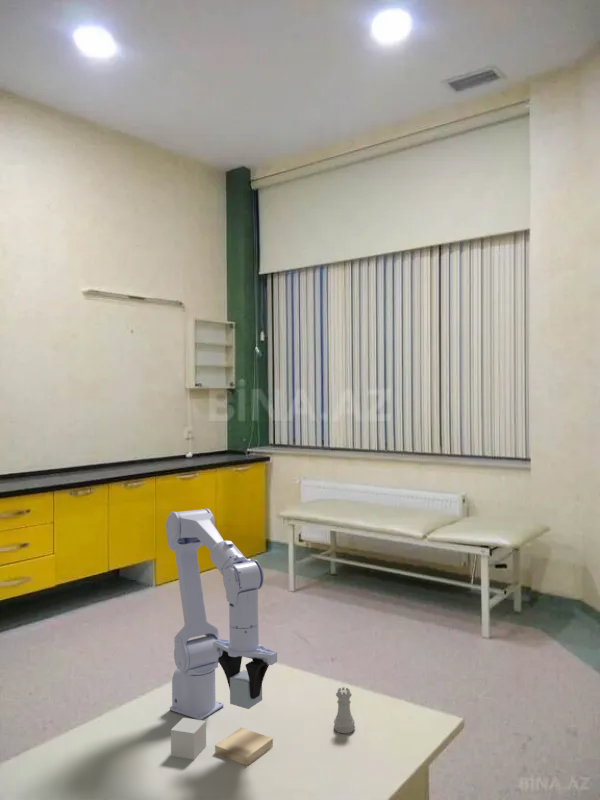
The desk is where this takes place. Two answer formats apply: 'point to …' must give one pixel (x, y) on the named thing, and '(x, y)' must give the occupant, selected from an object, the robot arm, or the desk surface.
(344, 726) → the rook chess piece
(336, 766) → the desk surface
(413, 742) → the desk surface
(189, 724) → the grey cube
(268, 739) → the maple block
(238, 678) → the slate block
